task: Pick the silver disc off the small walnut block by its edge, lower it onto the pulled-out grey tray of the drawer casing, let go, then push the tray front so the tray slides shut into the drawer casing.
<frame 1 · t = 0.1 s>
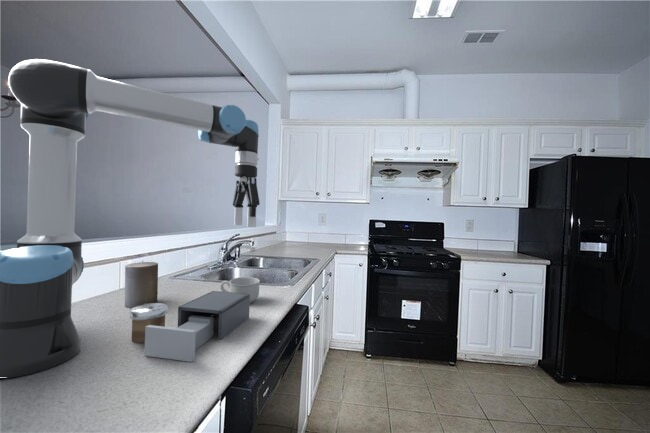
hand: (244, 226, 98), 28 cm above the countertop, tool pointing down, fingers open, 13 cm apart
walnut block: (148, 337, 70), on the countertop
disc: (149, 314, 70), point 6 cm above the countertop, touching walnut block
teacup: (239, 302, 102), on the countertop
drawer casing: (216, 326, 79), on the countertop
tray: (187, 332, 67), point 3 cm above the countertop, slide at 10.0 cm
pillar candle: (140, 304, 96), on the countertop
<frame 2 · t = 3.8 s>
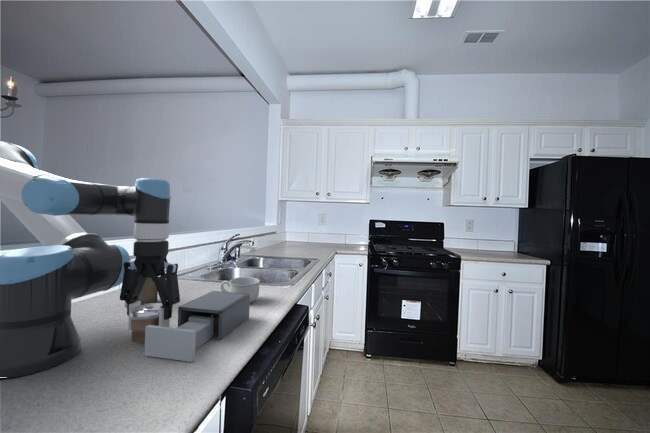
hand: (148, 329, 70), 2 cm above the countertop, tool pointing down, fingers closed on disc, 8 cm apart
disc: (149, 314, 70), point 6 cm above the countertop, touching gripper, walnut block
everything else where it was.
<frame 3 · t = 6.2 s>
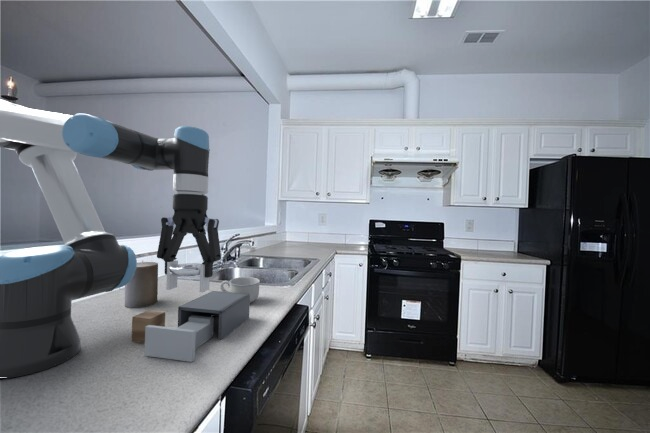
hand: (188, 289, 66), 14 cm above the countertop, tool pointing down, fingers closed on disc, 8 cm apart
disc: (188, 272, 66), point 18 cm above the countertop, touching gripper
everything else where it was.
when the fingers open (1 cm above the countertop, at t = 8.7 s): disc drops 1 cm, resting on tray.
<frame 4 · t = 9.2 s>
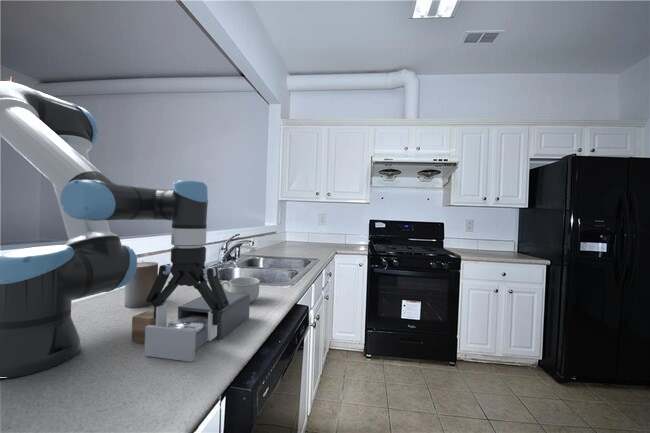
hand: (186, 335, 66), 3 cm above the countertop, tool pointing down, fingers open, 13 cm apart
disc: (186, 330, 66), point 4 cm above the countertop, touching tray
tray: (187, 332, 67), point 3 cm above the countertop, slide at 10.0 cm, touching disc
everything else where it was.
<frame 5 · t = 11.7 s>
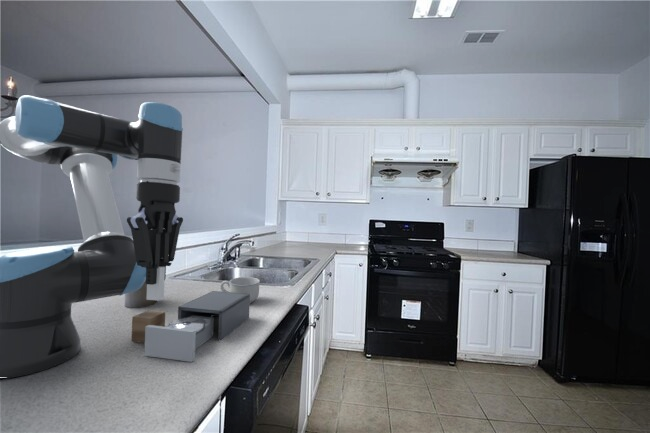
hand: (155, 298, 56), 14 cm above the countertop, tool pointing down, fingers closed
nothing on the countertop moved.
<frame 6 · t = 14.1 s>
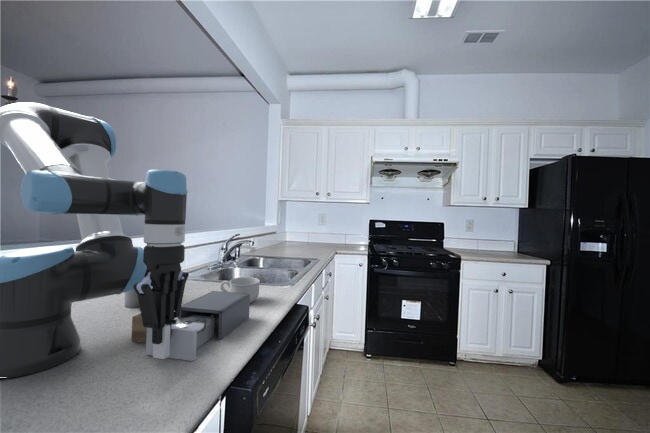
hand: (161, 356, 58), 2 cm above the countertop, tool pointing down, fingers closed
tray: (188, 331, 67), point 3 cm above the countertop, slide at 9.6 cm, touching disc, gripper
everything else where it was.
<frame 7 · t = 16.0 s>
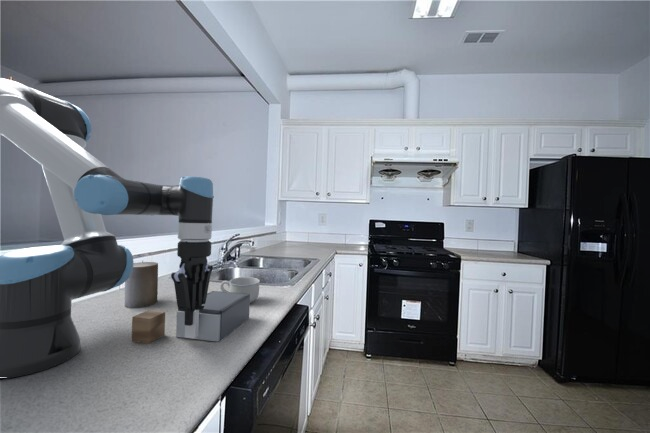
hand: (191, 336, 68), 2 cm above the countertop, tool pointing down, fingers closed
disc: (210, 315, 76), point 4 cm above the countertop, touching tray
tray: (211, 317, 76), point 3 cm above the countertop, slide at 0.0 cm, touching disc, gripper, drawer casing
everything else where it was.
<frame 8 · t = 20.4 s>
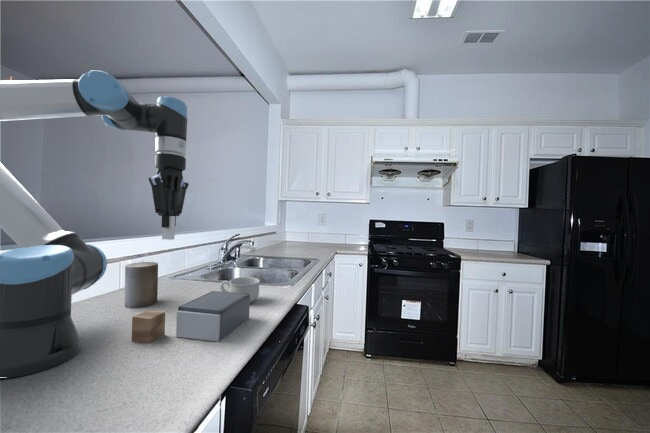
hand: (168, 239, 78), 24 cm above the countertop, tool pointing down, fingers closed
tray: (211, 317, 76), point 3 cm above the countertop, slide at 0.0 cm, touching disc, drawer casing
everything else where it was.
at the end: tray slide at 0.0 cm; disc inside the target area on the drawer casing (0.5 cm from its centre), point 4.0 cm above the drawer casing's base; the gripper is holding nothing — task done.
